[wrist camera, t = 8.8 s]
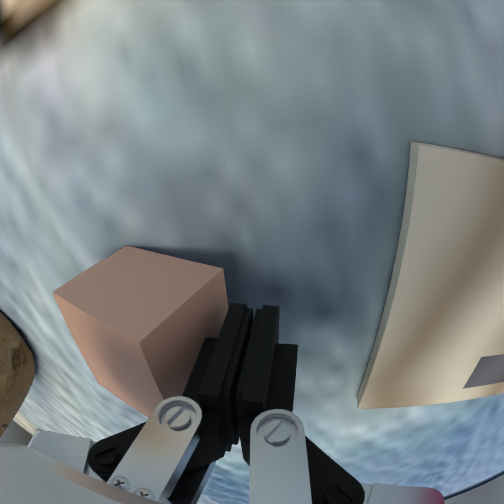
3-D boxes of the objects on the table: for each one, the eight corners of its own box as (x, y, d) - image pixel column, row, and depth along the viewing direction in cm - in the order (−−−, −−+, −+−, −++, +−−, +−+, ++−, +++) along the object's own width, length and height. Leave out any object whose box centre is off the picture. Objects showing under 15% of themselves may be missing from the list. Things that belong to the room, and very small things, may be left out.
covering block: (223, 268, 10) (139, 342, 7) (237, 369, 13) (182, 437, 9) (126, 245, 12) (52, 292, 9) (153, 333, 15) (98, 382, 12)
